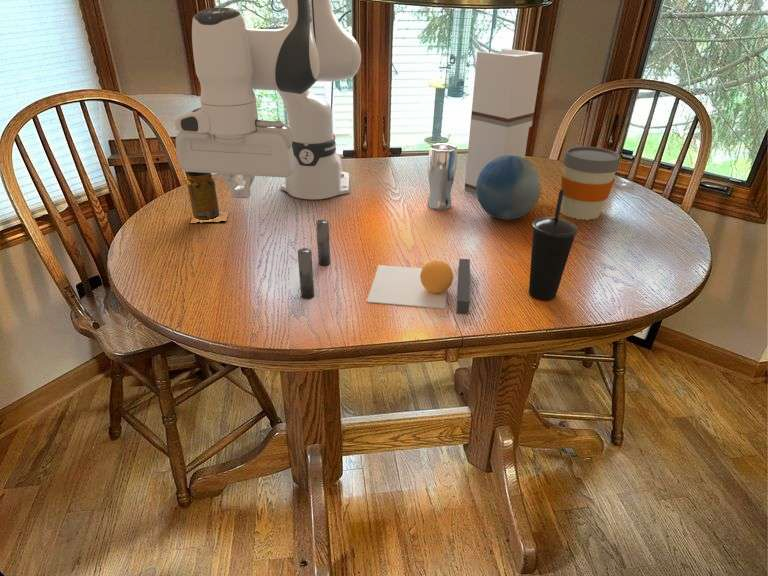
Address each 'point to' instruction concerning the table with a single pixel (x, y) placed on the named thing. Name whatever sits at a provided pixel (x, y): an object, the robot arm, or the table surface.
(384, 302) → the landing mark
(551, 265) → the drinking cup
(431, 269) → the ball
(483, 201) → the decorative ball
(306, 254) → the post
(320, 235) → the post
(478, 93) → the tall brown-banded box
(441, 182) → the silver metal cylinder
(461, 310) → the wall
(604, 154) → the reusable coffee cup
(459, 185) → the table surface
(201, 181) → the condiment
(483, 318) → the table surface
